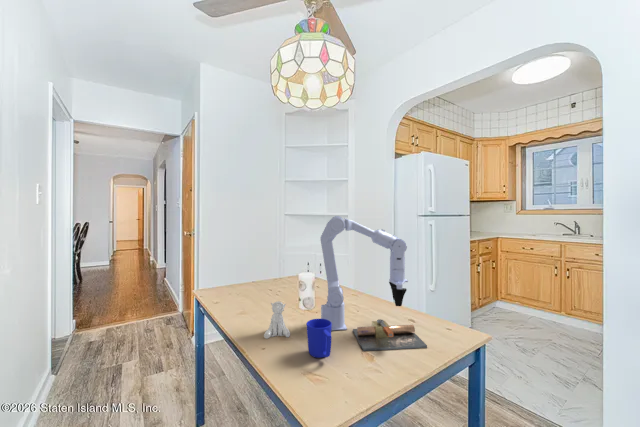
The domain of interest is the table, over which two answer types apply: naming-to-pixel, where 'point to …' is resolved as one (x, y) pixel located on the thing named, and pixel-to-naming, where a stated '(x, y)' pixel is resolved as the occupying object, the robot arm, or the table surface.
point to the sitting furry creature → (277, 322)
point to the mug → (319, 337)
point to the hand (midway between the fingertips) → (397, 302)
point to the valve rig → (378, 340)
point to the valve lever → (385, 328)
